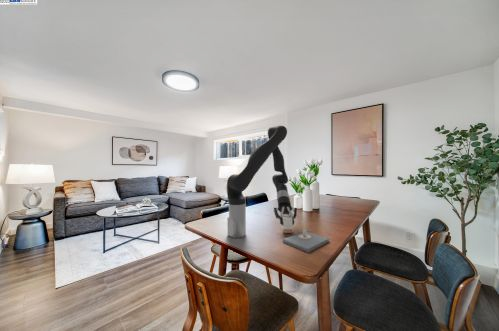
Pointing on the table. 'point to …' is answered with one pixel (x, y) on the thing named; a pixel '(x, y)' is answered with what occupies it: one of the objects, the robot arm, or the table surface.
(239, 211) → the robot arm
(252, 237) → the table surface
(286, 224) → the sleeve
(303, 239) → the pin board
